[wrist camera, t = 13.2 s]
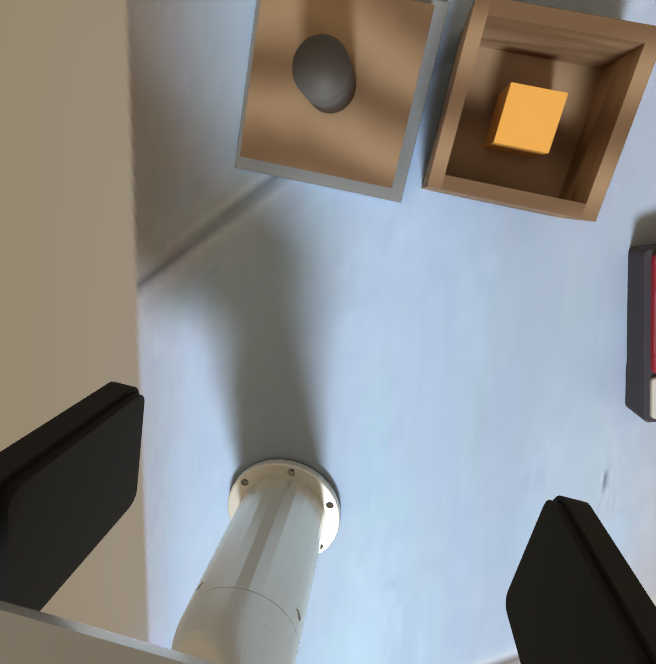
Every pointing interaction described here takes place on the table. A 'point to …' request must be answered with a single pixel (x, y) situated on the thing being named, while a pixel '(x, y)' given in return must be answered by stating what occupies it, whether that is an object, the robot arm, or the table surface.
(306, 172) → the mat
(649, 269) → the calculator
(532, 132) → the block
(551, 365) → the table surface
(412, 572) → the table surface
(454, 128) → the storage box
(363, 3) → the lid
